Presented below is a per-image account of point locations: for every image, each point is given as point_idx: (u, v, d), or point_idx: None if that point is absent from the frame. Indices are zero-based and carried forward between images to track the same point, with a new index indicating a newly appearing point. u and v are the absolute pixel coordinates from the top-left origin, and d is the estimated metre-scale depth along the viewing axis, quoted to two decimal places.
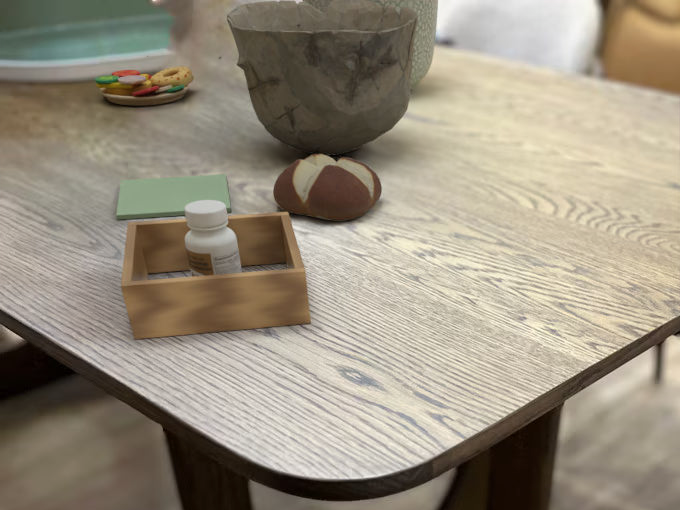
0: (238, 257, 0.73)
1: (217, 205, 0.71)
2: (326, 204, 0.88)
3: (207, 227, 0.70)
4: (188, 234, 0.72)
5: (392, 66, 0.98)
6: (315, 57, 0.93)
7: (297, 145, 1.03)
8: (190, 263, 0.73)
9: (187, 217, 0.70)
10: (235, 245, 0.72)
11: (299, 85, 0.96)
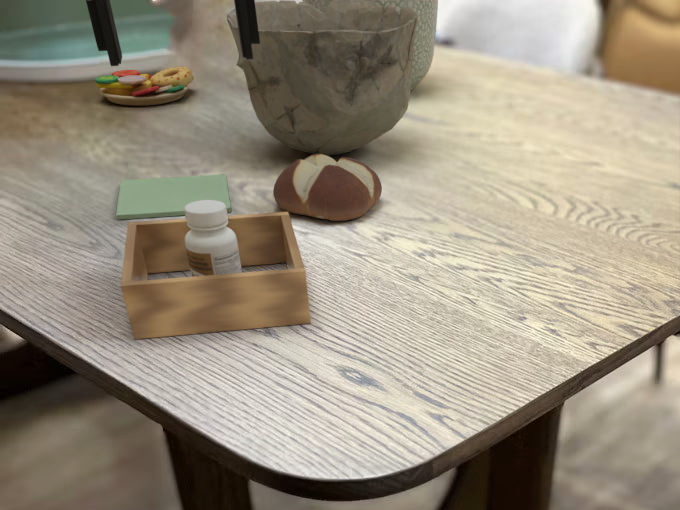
0: (238, 257, 0.73)
1: (217, 205, 0.71)
2: (326, 204, 0.88)
3: (207, 227, 0.70)
4: (188, 234, 0.72)
5: (392, 66, 0.98)
6: (315, 57, 0.93)
7: (297, 145, 1.03)
8: (190, 263, 0.73)
9: (187, 217, 0.70)
10: (235, 245, 0.72)
11: (299, 85, 0.96)
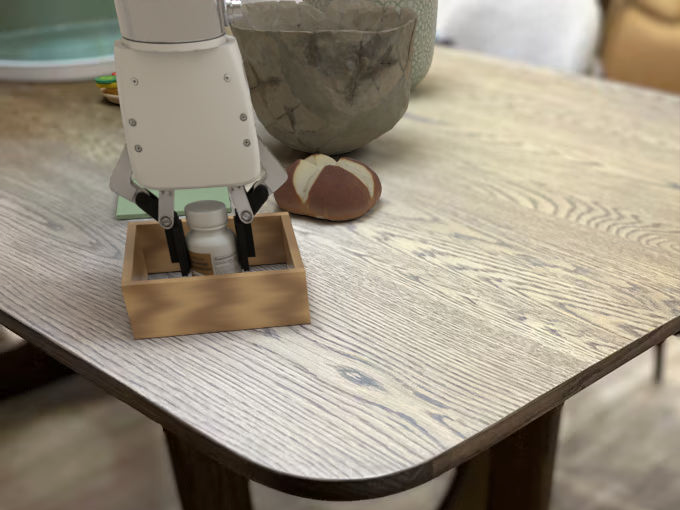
0: (238, 257, 0.73)
1: (217, 205, 0.71)
2: (326, 204, 0.88)
3: (207, 227, 0.70)
4: (188, 234, 0.72)
5: (392, 66, 0.98)
6: (315, 57, 0.93)
7: (297, 145, 1.03)
8: (190, 263, 0.73)
9: (187, 217, 0.70)
10: (235, 245, 0.72)
11: (299, 85, 0.96)
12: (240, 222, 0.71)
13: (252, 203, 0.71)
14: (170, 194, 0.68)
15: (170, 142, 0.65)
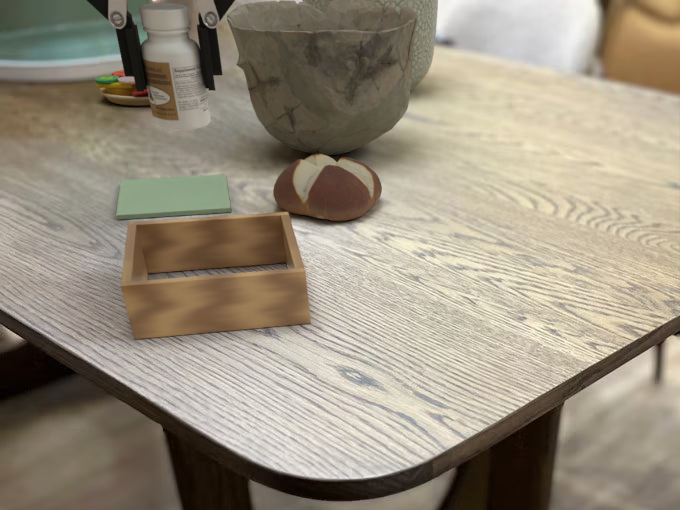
0: (202, 74, 0.64)
1: (178, 6, 0.62)
2: (326, 204, 0.88)
3: (165, 29, 0.61)
4: (144, 41, 0.63)
5: (392, 66, 0.98)
6: (315, 57, 0.93)
7: (297, 145, 1.03)
8: (146, 77, 0.64)
9: (142, 17, 0.61)
10: (198, 57, 0.63)
11: (299, 85, 0.96)
12: (204, 27, 0.62)
13: (218, 4, 0.62)
14: None
15: None
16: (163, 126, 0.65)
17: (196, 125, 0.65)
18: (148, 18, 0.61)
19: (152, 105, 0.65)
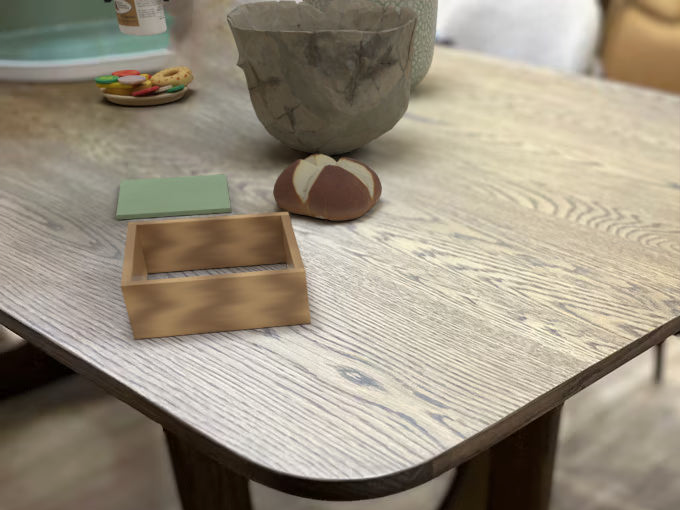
0: None
1: None
2: (326, 204, 0.88)
3: None
4: None
5: (392, 66, 0.98)
6: (315, 57, 0.93)
7: (297, 145, 1.03)
8: None
9: None
10: None
11: (299, 85, 0.96)
12: None
13: None
14: None
15: None
16: (127, 32, 0.80)
17: (154, 30, 0.80)
18: None
19: (117, 14, 0.79)
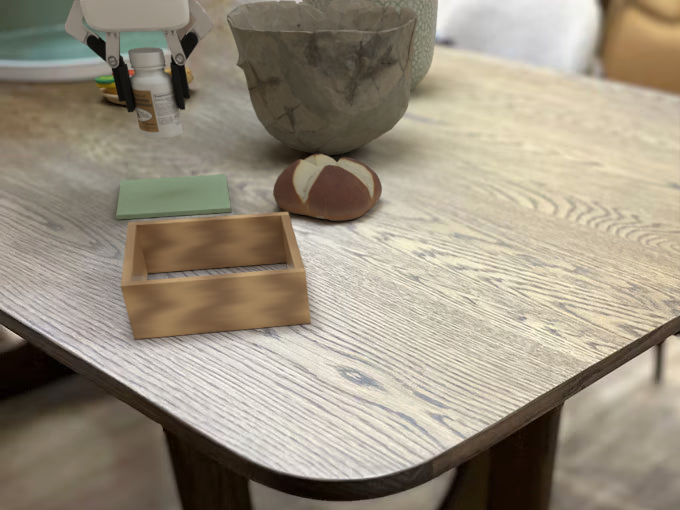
0: (175, 97, 0.88)
1: (155, 50, 0.86)
2: (326, 204, 0.88)
3: (147, 66, 0.85)
4: (132, 75, 0.86)
5: (392, 66, 0.98)
6: (315, 57, 0.93)
7: (297, 145, 1.03)
8: (134, 101, 0.87)
9: (130, 59, 0.85)
10: (172, 85, 0.87)
11: (299, 85, 0.96)
12: (175, 64, 0.86)
13: (185, 48, 0.85)
14: (115, 36, 0.83)
15: None
16: (147, 136, 0.89)
17: (172, 135, 0.89)
18: (134, 59, 0.85)
19: (139, 121, 0.89)
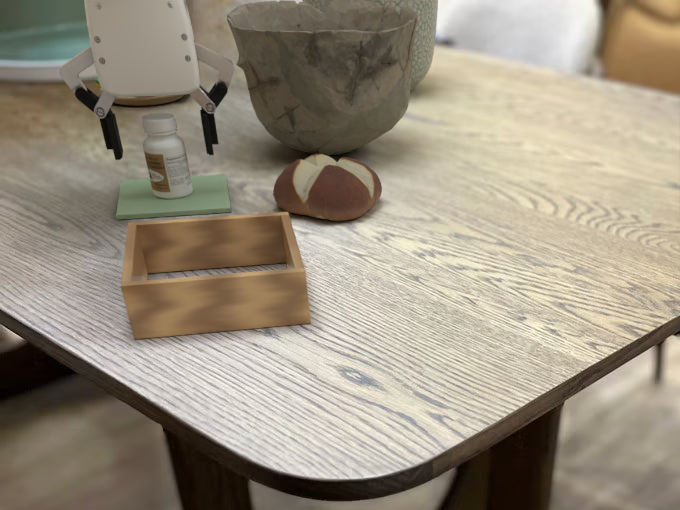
0: (186, 159, 0.92)
1: (168, 116, 0.90)
2: (326, 204, 0.88)
3: (160, 132, 0.89)
4: (145, 139, 0.90)
5: (392, 66, 0.98)
6: (315, 57, 0.93)
7: (297, 145, 1.03)
8: (147, 163, 0.91)
9: (144, 124, 0.89)
10: (183, 149, 0.91)
11: (299, 85, 0.96)
12: (205, 113, 0.89)
13: (215, 97, 0.89)
14: (113, 94, 0.86)
15: (127, 56, 0.83)
16: (159, 196, 0.93)
17: (183, 194, 0.93)
18: (148, 125, 0.89)
19: (151, 182, 0.93)
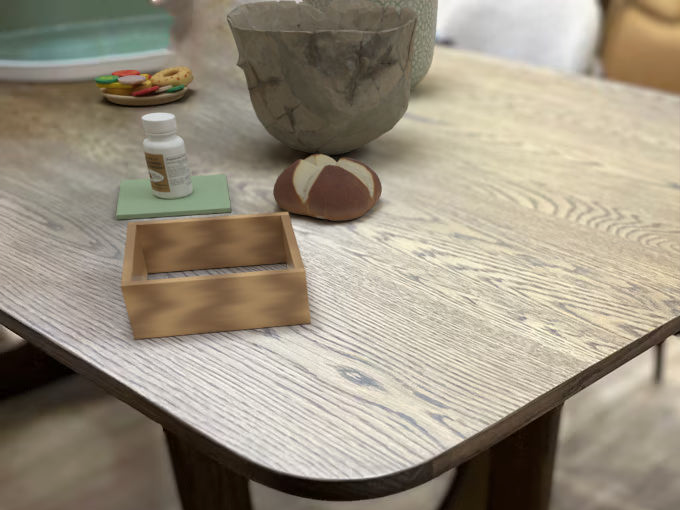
0: (186, 159, 0.92)
1: (168, 116, 0.90)
2: (326, 204, 0.88)
3: (159, 132, 0.89)
4: (145, 139, 0.90)
5: (392, 66, 0.98)
6: (315, 57, 0.93)
7: (297, 145, 1.03)
8: (147, 163, 0.91)
9: (144, 124, 0.89)
10: (183, 149, 0.91)
11: (299, 85, 0.96)
12: None
13: None
14: None
15: None
16: (159, 196, 0.93)
17: (183, 194, 0.93)
18: (148, 125, 0.89)
19: (151, 182, 0.93)
